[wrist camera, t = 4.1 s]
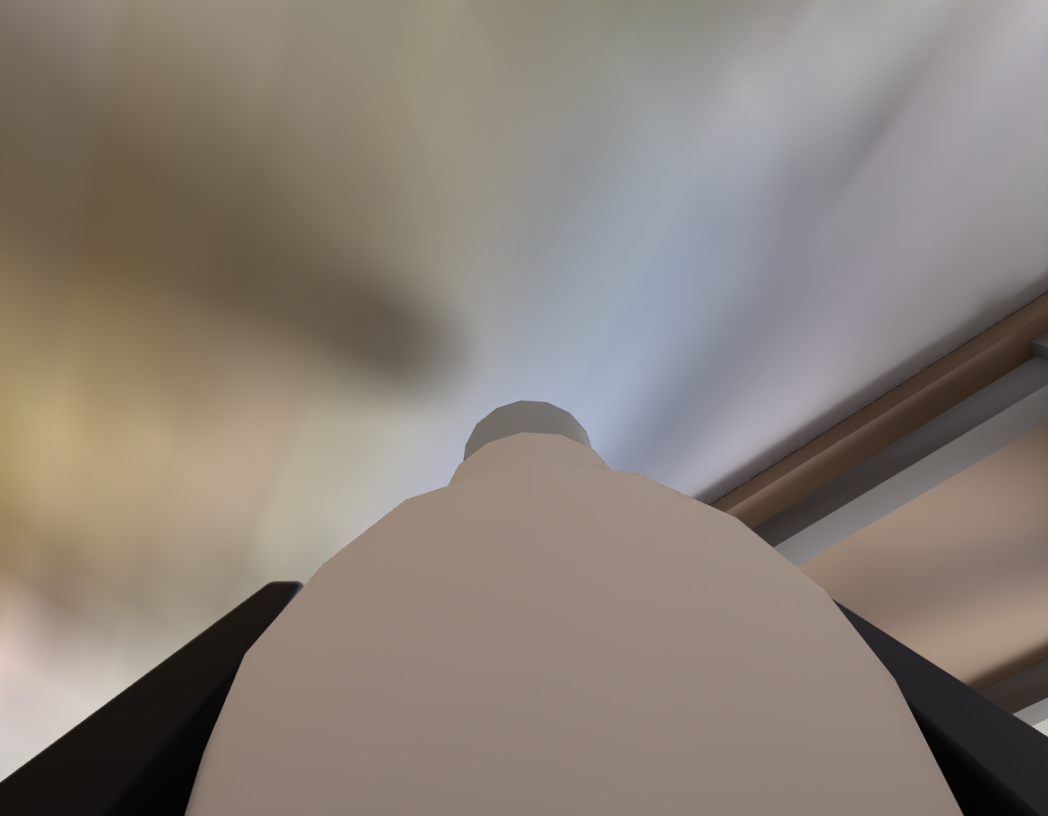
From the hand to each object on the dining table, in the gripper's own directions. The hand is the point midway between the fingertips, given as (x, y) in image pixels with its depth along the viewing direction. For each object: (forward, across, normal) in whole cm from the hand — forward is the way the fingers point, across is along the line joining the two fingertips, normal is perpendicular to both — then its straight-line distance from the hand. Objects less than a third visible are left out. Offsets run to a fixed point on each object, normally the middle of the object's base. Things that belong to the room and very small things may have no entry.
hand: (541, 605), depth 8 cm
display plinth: (+8, -13, +6) cm, 16 cm away
